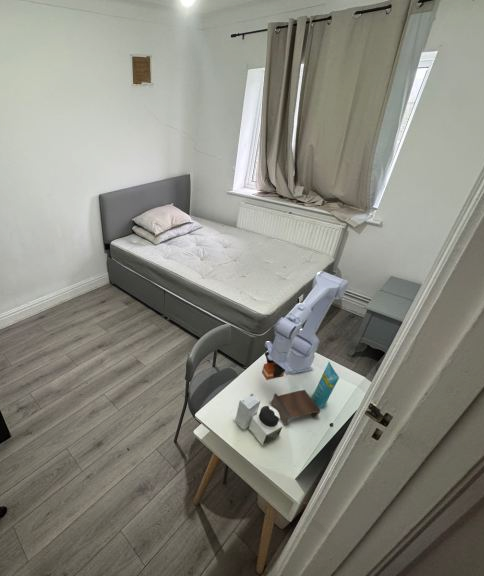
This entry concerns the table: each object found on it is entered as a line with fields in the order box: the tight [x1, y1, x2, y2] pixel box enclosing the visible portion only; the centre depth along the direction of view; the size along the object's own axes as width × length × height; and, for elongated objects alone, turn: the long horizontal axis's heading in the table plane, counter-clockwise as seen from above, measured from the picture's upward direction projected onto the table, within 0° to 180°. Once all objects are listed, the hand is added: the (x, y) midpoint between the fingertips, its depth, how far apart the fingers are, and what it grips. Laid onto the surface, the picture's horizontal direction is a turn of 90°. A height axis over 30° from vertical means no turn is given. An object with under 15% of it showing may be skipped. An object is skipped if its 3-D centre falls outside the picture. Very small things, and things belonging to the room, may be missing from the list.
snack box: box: [261, 362, 286, 381], centre depth 114 cm, size 7×4×5 cm, turn 102°
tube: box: [311, 361, 340, 409], centre depth 109 cm, size 7×5×19 cm, turn 2°
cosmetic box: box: [234, 392, 261, 431], centre depth 105 cm, size 6×4×12 cm
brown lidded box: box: [270, 389, 321, 426], centre depth 110 cm, size 13×9×6 cm
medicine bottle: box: [248, 405, 284, 446], centre depth 102 cm, size 7×7×12 cm
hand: (273, 372), depth 114 cm, fingers closed on snack box, 4 cm apart
